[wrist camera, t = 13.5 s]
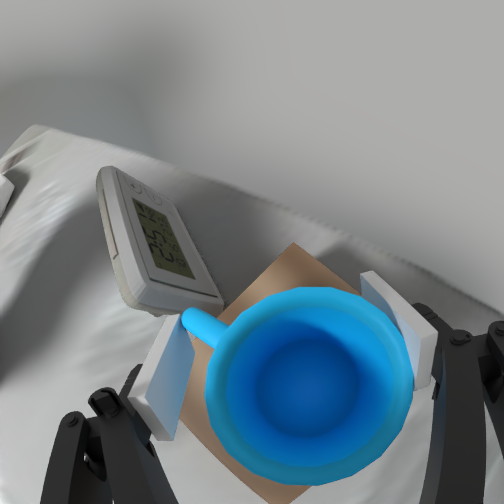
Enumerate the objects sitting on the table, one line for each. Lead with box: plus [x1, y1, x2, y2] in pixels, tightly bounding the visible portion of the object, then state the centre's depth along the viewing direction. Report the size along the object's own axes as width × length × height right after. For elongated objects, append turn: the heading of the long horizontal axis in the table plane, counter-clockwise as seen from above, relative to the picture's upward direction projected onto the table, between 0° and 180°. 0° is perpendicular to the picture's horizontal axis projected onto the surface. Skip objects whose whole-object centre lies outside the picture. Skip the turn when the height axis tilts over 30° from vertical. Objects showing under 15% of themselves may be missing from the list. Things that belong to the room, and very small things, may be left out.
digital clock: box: [96, 166, 224, 318], centre depth 25 cm, size 16×9×11 cm, turn 17°
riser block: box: [179, 242, 362, 504], centre depth 20 cm, size 16×14×5 cm
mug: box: [181, 287, 413, 486], centre depth 14 cm, size 12×8×8 cm
